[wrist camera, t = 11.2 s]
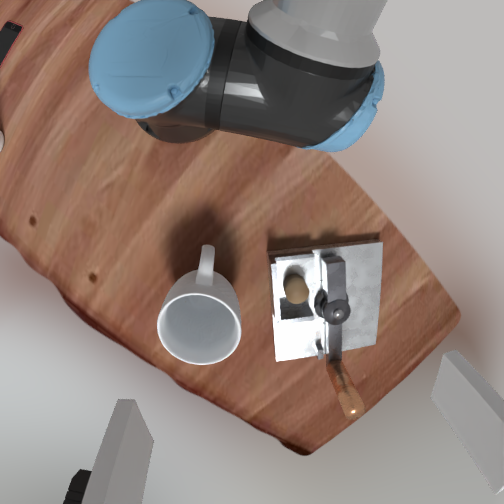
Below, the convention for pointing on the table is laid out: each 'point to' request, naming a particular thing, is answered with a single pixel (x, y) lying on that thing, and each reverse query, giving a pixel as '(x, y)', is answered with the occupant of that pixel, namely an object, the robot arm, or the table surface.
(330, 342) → the lever
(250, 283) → the table surface
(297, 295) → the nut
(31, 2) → the table surface
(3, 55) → the smartphone
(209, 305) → the mug
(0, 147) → the white tall cup
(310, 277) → the grey flat slab fixture
